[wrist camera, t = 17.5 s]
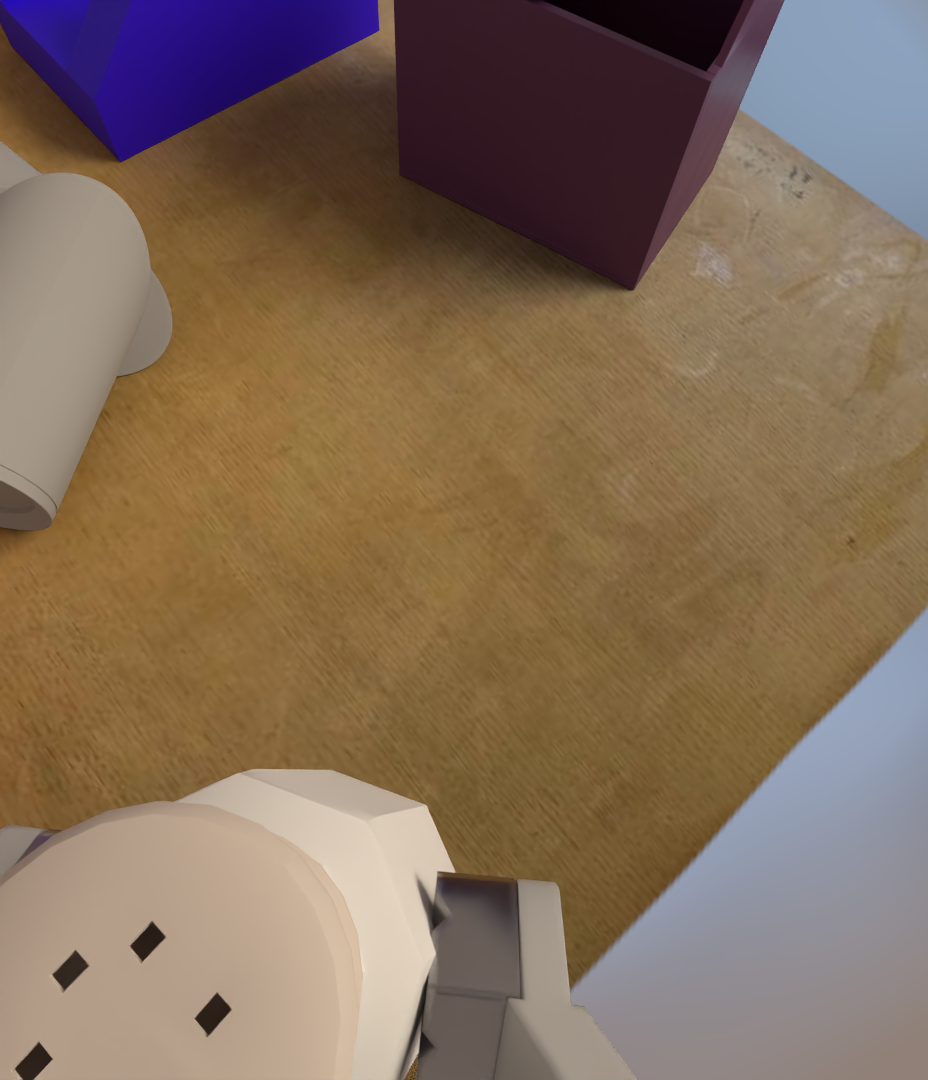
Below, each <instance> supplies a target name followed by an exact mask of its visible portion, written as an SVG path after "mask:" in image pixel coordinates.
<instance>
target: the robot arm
mask: <svg viewBox="0 0 928 1080" xmlns="http://www.w3.org/2000/svg"><path fill="white" fill-rule="evenodd" d="M61 831H62V830H54V829H41V828H33V827H26V826H18V825H11V824H8V825H7V826H5V827H3V828H1V829H0V878H1V877H2V876H3V874H4V873H5V872H6V871H8V870H9V869H10V868H12V867H13V866H14V865H15V864H17V863H18V862H19V861H21V860H22V859H23V858H25V857H26V856H27V855H29V854H30V853H31V852H32V851H34V850H35V849H36V848H38V847H39V846H40V845H42V844H43V843H44V842H45V841H47V840H48V839H49V838H51V837H52V836H53V835H55V834H57V833H59V832H61ZM432 923H433V925H434V928H435V929H434V930H433V931H432V942H433V945H434V948H435V951H436V955H435V957H434V960H433V962H432V965H431V967H430V970H429V973H428V979H427V985H426V991H425V1001H424V1004H423V1013H422V1022H421V1032H420V1042H419V1053H418V1065H417V1077H416V1080H637V1078H636V1077H635V1076H634V1074H633V1073H632V1071H631V1070H630V1069H629V1067H628V1066H627V1065H626V1063H625V1062H624V1061H623V1059H622V1058H621V1056H620V1055H619V1054H618V1052H617V1051H616V1050H615V1048H614V1047H613V1046H612V1044H611V1043H610V1041H609V1040H608V1039H607V1037H606V1036H605V1035H604V1033H603V1032H602V1031H601V1029H600V1028H599V1026H598V1025H597V1024H596V1022H595V1021H594V1020H593V1018H592V1017H591V1016H590V1014H589V1013H588V1012H587V1010H586V1009H585V1007H583V1006H576V1005H571V999H570V989H569V979H568V969H567V960H566V950H565V940H564V930H563V921H562V911H561V901H560V891H559V888H558V886H557V884H556V882H546V881H536V880H525V879H516V881H515V879H514V878H505V877H495V876H484V875H474V874H463V873H452V872H442V871H437V878H436V886H435V894H434V904H433V915H432Z"/></svg>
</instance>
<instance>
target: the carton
mask: <svg viewBox="0 0 928 1080" xmlns="http://www.w3.org/2000/svg"><path fill="white" fill-rule="evenodd" d="M743 1H744V0H394V18H395V49H396V80H397V111H398V142H399V173H400V175H402V176H404V177H406V178H408V179H410V180H412V181H414V182H416V183H418V184H420V185H422V186H424V187H426V188H428V189H430V190H432V191H434V192H436V193H438V194H440V195H442V196H444V197H446V198H448V199H450V200H452V201H454V202H456V203H459V204H461V205H463V206H465V207H467V208H469V209H471V210H473V211H475V212H477V213H479V214H481V215H483V216H485V217H487V218H489V219H491V220H493V221H495V222H497V223H499V224H501V225H503V226H505V227H507V228H509V229H511V230H513V231H515V232H517V233H519V234H521V235H523V236H525V237H527V238H529V239H531V240H533V241H535V242H537V243H539V244H541V245H543V246H545V247H547V248H549V249H551V250H553V251H555V252H557V253H559V254H561V255H563V256H565V257H567V258H569V259H572V260H574V261H576V262H578V263H580V264H582V265H584V266H586V267H588V268H590V269H592V270H594V271H596V272H598V273H600V274H602V275H604V276H606V277H608V278H610V279H612V280H614V281H616V282H618V283H620V284H622V285H624V286H626V287H628V288H630V289H632V290H634V289H635V287H636V286H637V284H638V283H639V281H640V280H641V278H642V277H643V275H644V274H645V272H646V271H647V269H648V268H649V266H650V265H651V263H652V262H653V260H654V259H655V257H656V256H657V254H658V253H659V251H660V250H661V248H662V247H663V245H664V243H665V242H666V240H667V239H668V237H669V236H670V234H671V233H672V231H673V230H674V228H675V227H676V225H677V224H678V222H679V221H680V219H681V218H682V216H683V215H684V213H685V212H686V210H687V209H688V207H689V206H690V204H691V203H692V201H693V200H694V198H695V197H696V195H697V193H698V192H699V190H700V189H701V187H702V186H703V184H704V183H705V181H706V180H707V178H708V177H709V175H710V174H711V172H712V170H713V168H714V165H715V163H716V161H717V159H718V156H719V154H720V151H721V149H722V147H723V144H724V142H725V140H726V137H727V135H728V133H729V130H730V128H731V125H732V123H733V121H734V118H735V116H736V114H737V111H738V109H739V107H740V104H741V102H742V99H743V97H744V94H745V92H746V90H747V88H748V85H749V83H750V81H751V78H752V76H753V74H754V71H755V68H756V66H757V64H758V62H759V59H760V57H761V54H762V52H763V50H764V48H765V45H766V43H767V40H768V38H769V35H770V33H771V31H772V29H773V26H774V24H775V22H776V19H777V17H778V14H779V12H780V10H781V7H782V5H783V3H784V0H770V1H769V2H768V4H767V5H766V7H765V8H764V10H763V11H762V12H761V14H760V15H759V17H758V18H757V19H756V21H755V22H754V24H753V25H752V26H751V28H750V29H749V31H748V32H747V33H746V35H745V36H744V38H743V39H742V41H741V42H740V43H739V45H738V46H737V48H736V49H735V50H734V52H733V53H732V55H731V56H730V57H729V59H728V60H727V62H726V63H725V65H724V66H723V67H722V68H720V67H718V66H716V65H715V61H716V59H717V57H718V54H719V52H720V50H721V48H722V46H723V44H724V42H725V40H726V37H727V35H728V33H729V31H730V29H731V27H732V25H733V22H734V20H735V18H736V16H737V14H738V12H739V10H740V7H741V5H742V3H743Z"/></svg>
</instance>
